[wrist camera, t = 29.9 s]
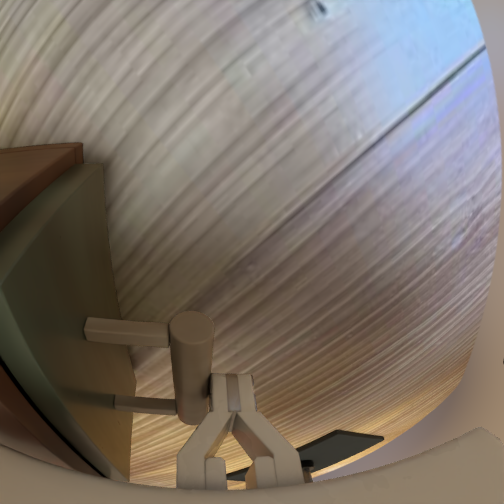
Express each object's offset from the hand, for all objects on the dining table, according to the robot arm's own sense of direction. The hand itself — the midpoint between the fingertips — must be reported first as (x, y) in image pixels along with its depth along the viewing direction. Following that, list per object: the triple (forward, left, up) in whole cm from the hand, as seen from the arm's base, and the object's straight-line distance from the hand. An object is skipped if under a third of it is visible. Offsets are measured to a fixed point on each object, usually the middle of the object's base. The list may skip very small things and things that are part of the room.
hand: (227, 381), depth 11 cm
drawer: (+6, -8, -4) cm, 10 cm away
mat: (+18, +30, -5) cm, 35 cm away
